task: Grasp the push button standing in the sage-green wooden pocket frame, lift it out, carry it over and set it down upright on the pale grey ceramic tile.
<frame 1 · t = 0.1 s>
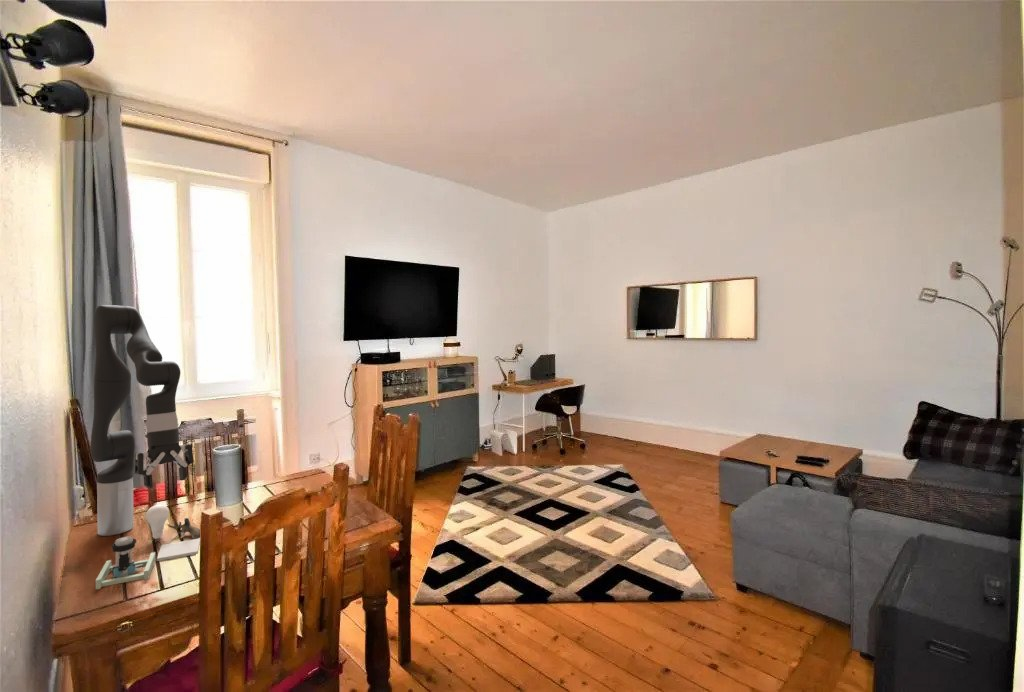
hand: (166, 483, 139), 22 cm above the table, tool pointing down, fingers open, 8 cm apart
lightbulb: (157, 539, 153), on the table
eagle figurine: (187, 537, 155), on the table
pocket frame: (127, 573, 131), on the table
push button: (127, 574, 131), on the table
tile: (179, 550, 145), on the table
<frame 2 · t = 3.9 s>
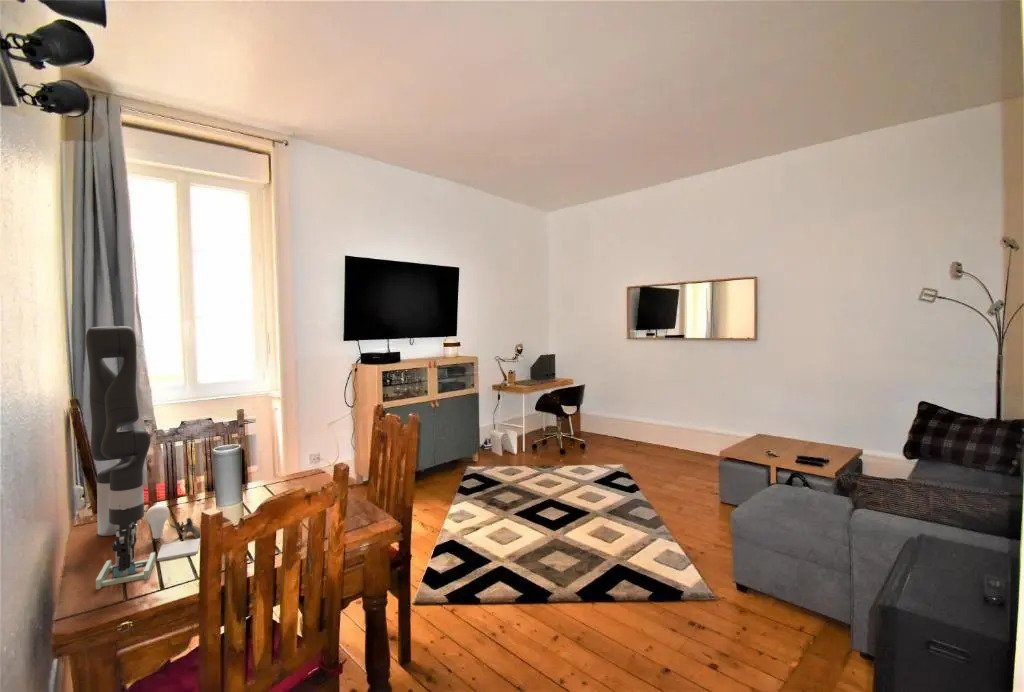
hand: (127, 563, 131), 3 cm above the table, tool pointing down, fingers closed on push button, 4 cm apart
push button: (127, 574, 131), on the table, touching gripper
everything else where it was.
when the fingers open (5 cm above the table, at t = 9.2 s): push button stays where it is, resting on tile.
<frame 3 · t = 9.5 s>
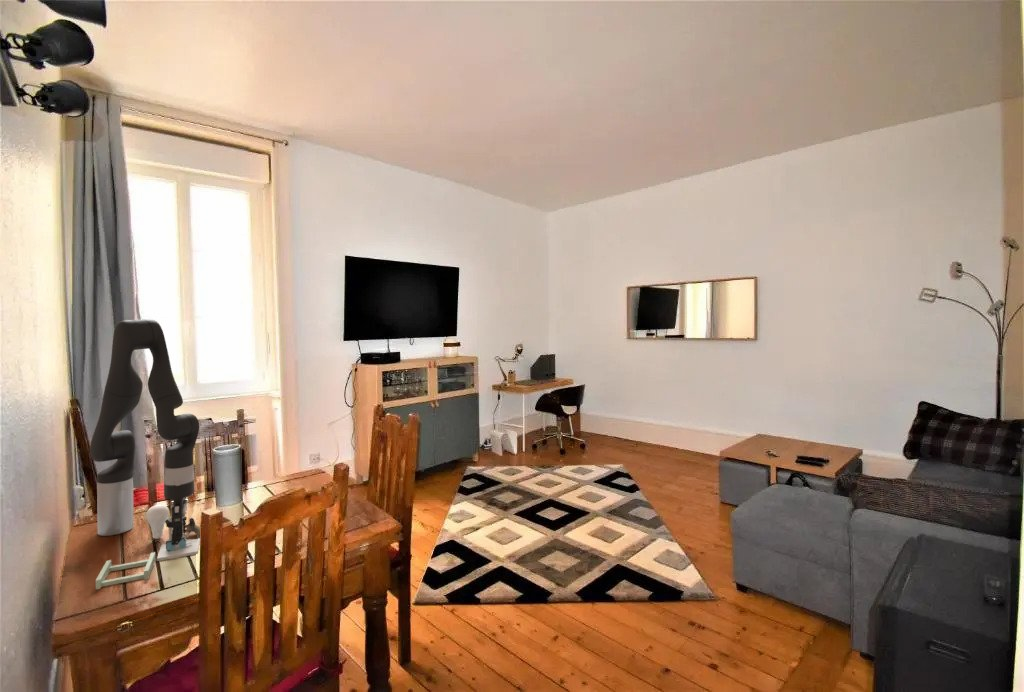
hand: (179, 532, 145), 6 cm above the table, tool pointing down, fingers open, 8 cm apart
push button: (178, 548, 145), point 1 cm above the table, touching tile
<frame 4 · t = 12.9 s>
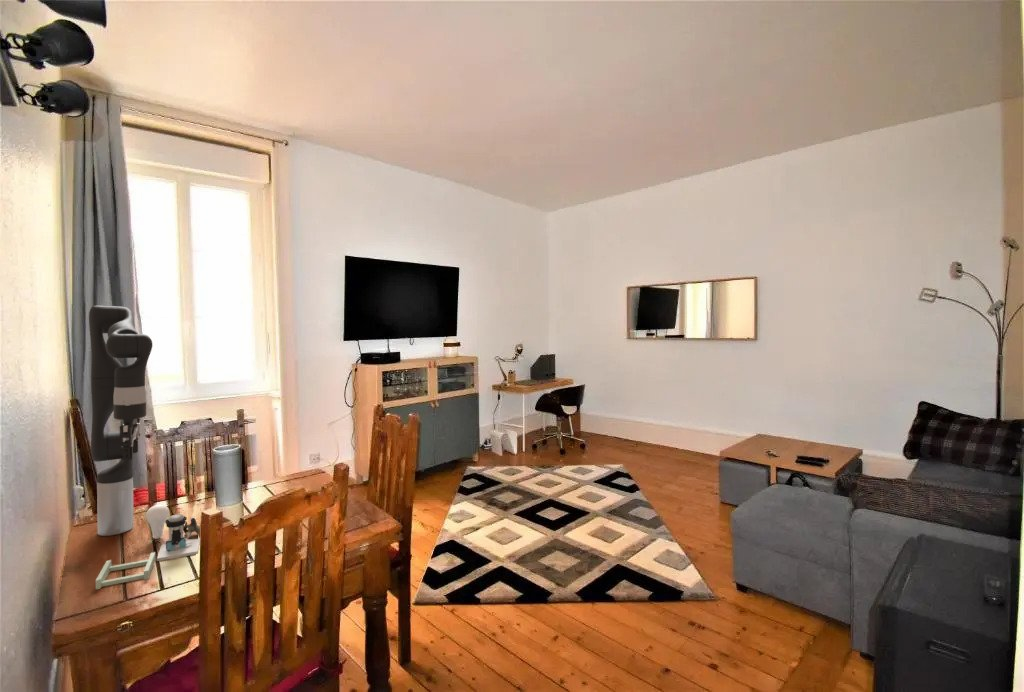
hand: (130, 456, 140), 30 cm above the table, tool pointing down, fingers open, 8 cm apart
at the end: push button 0.2 cm from the tile (horizontally); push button tilted 0°; the gripper is holding nothing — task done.
